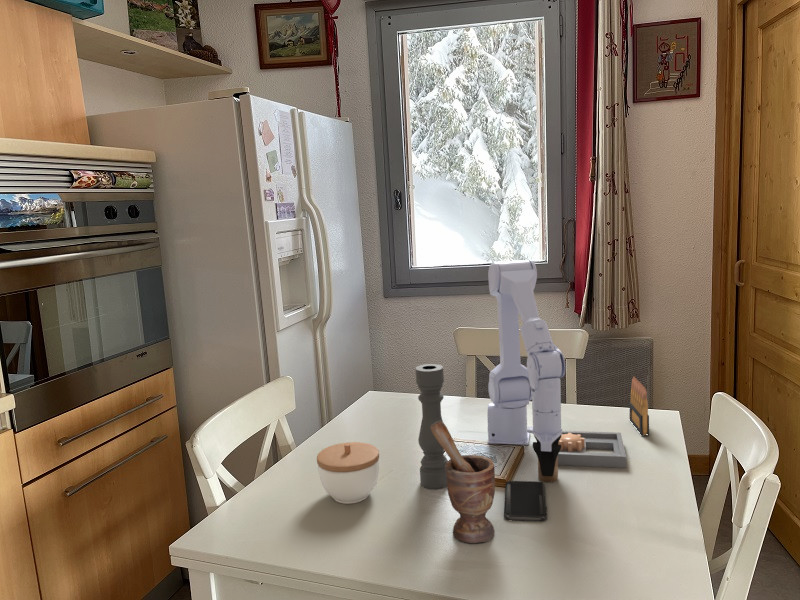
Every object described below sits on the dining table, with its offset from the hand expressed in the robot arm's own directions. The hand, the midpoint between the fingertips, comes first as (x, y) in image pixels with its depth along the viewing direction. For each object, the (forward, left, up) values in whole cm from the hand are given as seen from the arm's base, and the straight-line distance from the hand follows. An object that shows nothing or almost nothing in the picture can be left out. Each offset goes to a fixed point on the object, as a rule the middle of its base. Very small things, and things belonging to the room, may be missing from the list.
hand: (547, 470), depth 135 cm
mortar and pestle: (-14, -24, -2) cm, 28 cm away
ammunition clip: (+21, +31, -2) cm, 37 cm away
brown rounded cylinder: (0, 0, -2) cm, 2 cm away
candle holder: (-23, -5, -2) cm, 24 cm away
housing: (+8, +14, -2) cm, 16 cm away
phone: (-4, -11, -2) cm, 12 cm away
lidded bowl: (-39, -13, -2) cm, 41 cm away
